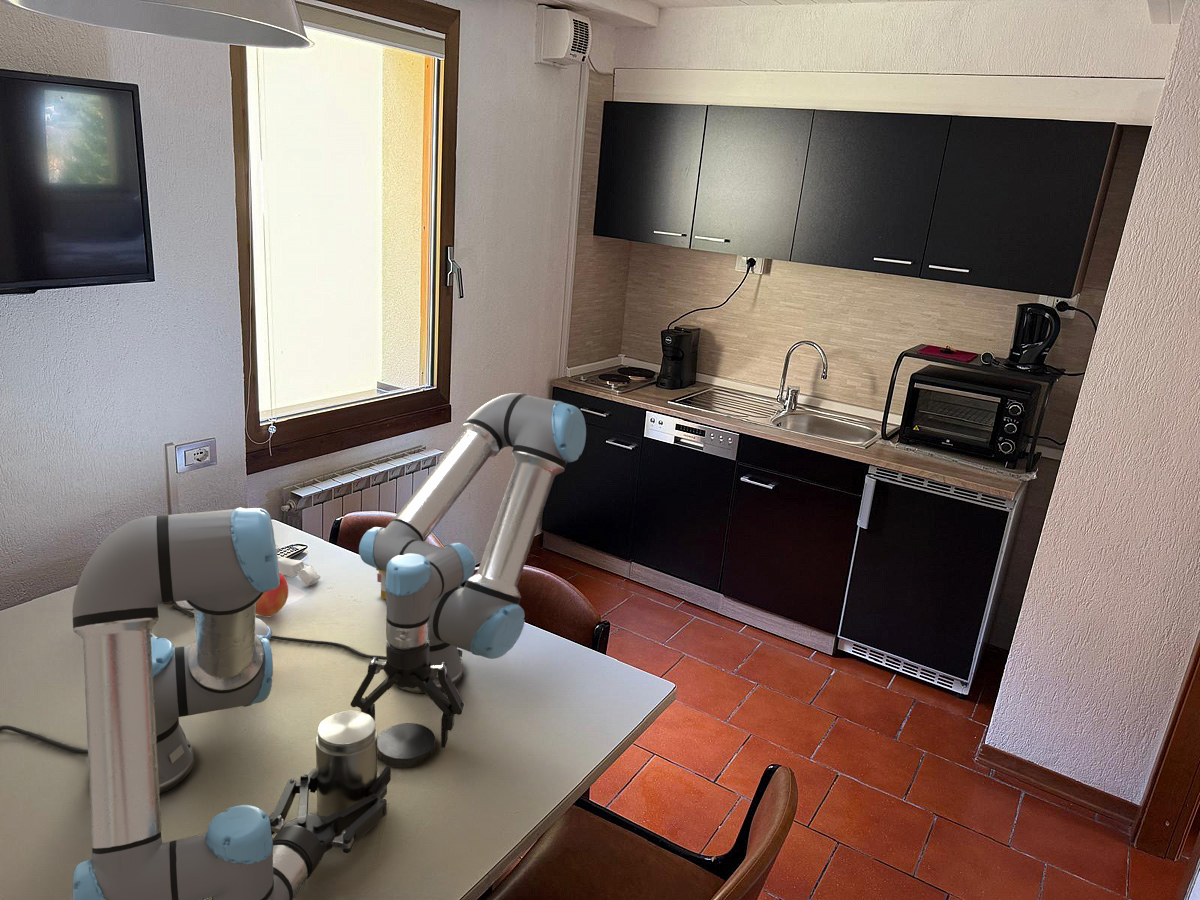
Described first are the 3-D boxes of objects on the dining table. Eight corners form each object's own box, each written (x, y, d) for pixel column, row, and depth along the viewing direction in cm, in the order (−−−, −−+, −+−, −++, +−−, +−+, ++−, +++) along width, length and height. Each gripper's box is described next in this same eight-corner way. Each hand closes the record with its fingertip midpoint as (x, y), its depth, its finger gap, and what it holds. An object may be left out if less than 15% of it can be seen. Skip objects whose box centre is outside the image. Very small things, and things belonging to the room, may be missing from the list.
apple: (273, 600, 207) (272, 562, 204) (297, 613, 202) (296, 575, 199) (237, 614, 200) (234, 575, 197) (261, 628, 194) (259, 588, 191)
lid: (406, 776, 151) (406, 766, 151) (363, 752, 156) (363, 743, 156) (447, 746, 160) (447, 737, 159) (405, 725, 165) (405, 715, 165)
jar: (314, 841, 135) (312, 747, 130) (320, 800, 144) (318, 711, 139) (376, 835, 137) (376, 743, 132) (378, 795, 146) (378, 707, 141)
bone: (253, 565, 223) (254, 542, 221) (265, 560, 226) (266, 537, 224) (309, 593, 215) (310, 569, 213) (320, 588, 218) (321, 564, 216)
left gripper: (218, 868, 125) (300, 772, 146) (357, 903, 121) (422, 799, 142) (215, 826, 123) (299, 734, 144) (357, 860, 119) (422, 760, 140)
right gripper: (331, 645, 148) (334, 748, 154) (474, 656, 148) (471, 758, 155) (344, 623, 155) (346, 723, 162) (481, 634, 155) (478, 733, 162)
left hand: (360, 766), depth 143 cm, fingers closed on jar, 9 cm apart
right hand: (407, 740), depth 158 cm, fingers open, 13 cm apart
